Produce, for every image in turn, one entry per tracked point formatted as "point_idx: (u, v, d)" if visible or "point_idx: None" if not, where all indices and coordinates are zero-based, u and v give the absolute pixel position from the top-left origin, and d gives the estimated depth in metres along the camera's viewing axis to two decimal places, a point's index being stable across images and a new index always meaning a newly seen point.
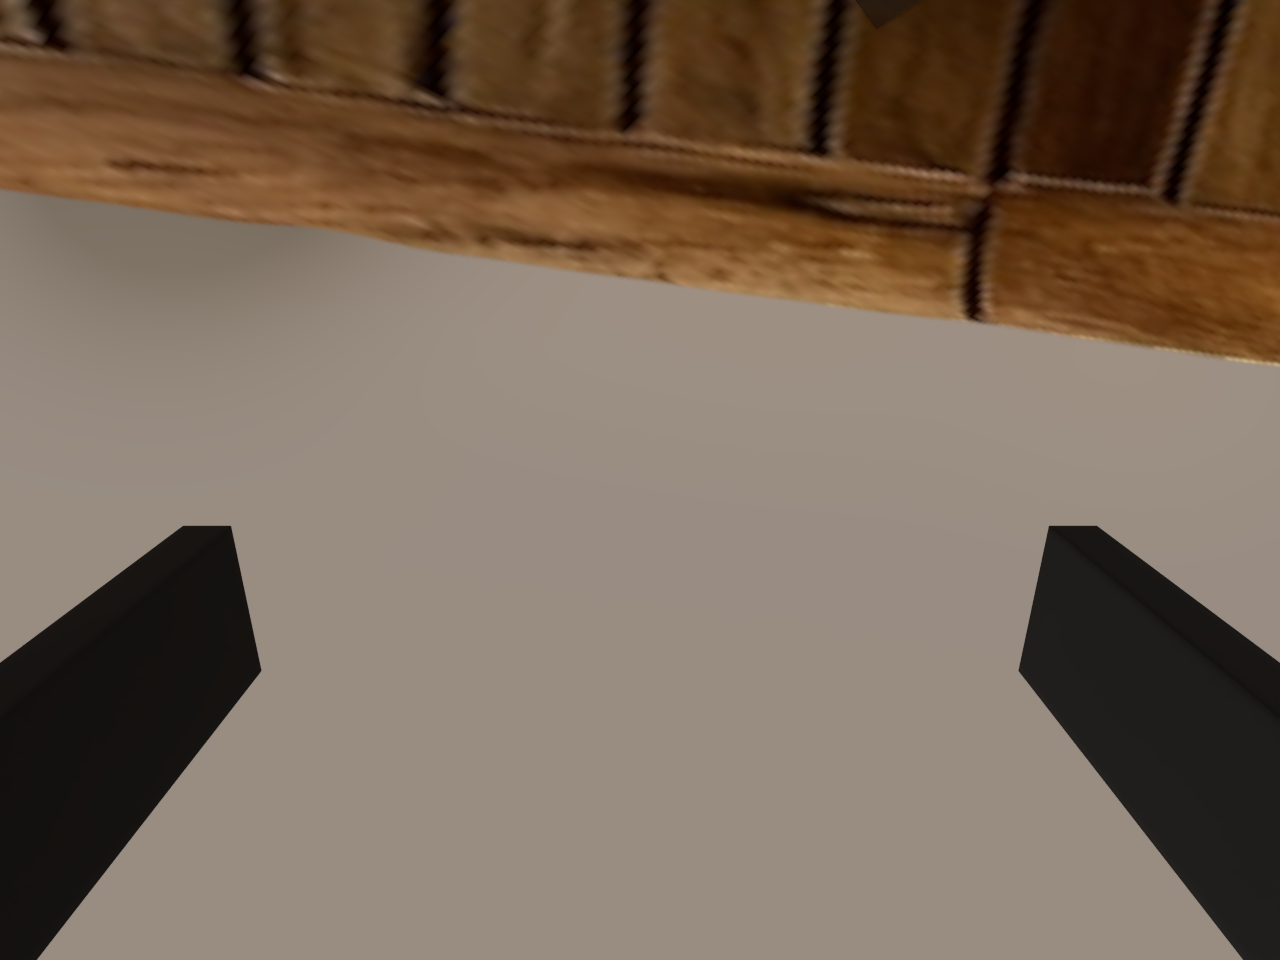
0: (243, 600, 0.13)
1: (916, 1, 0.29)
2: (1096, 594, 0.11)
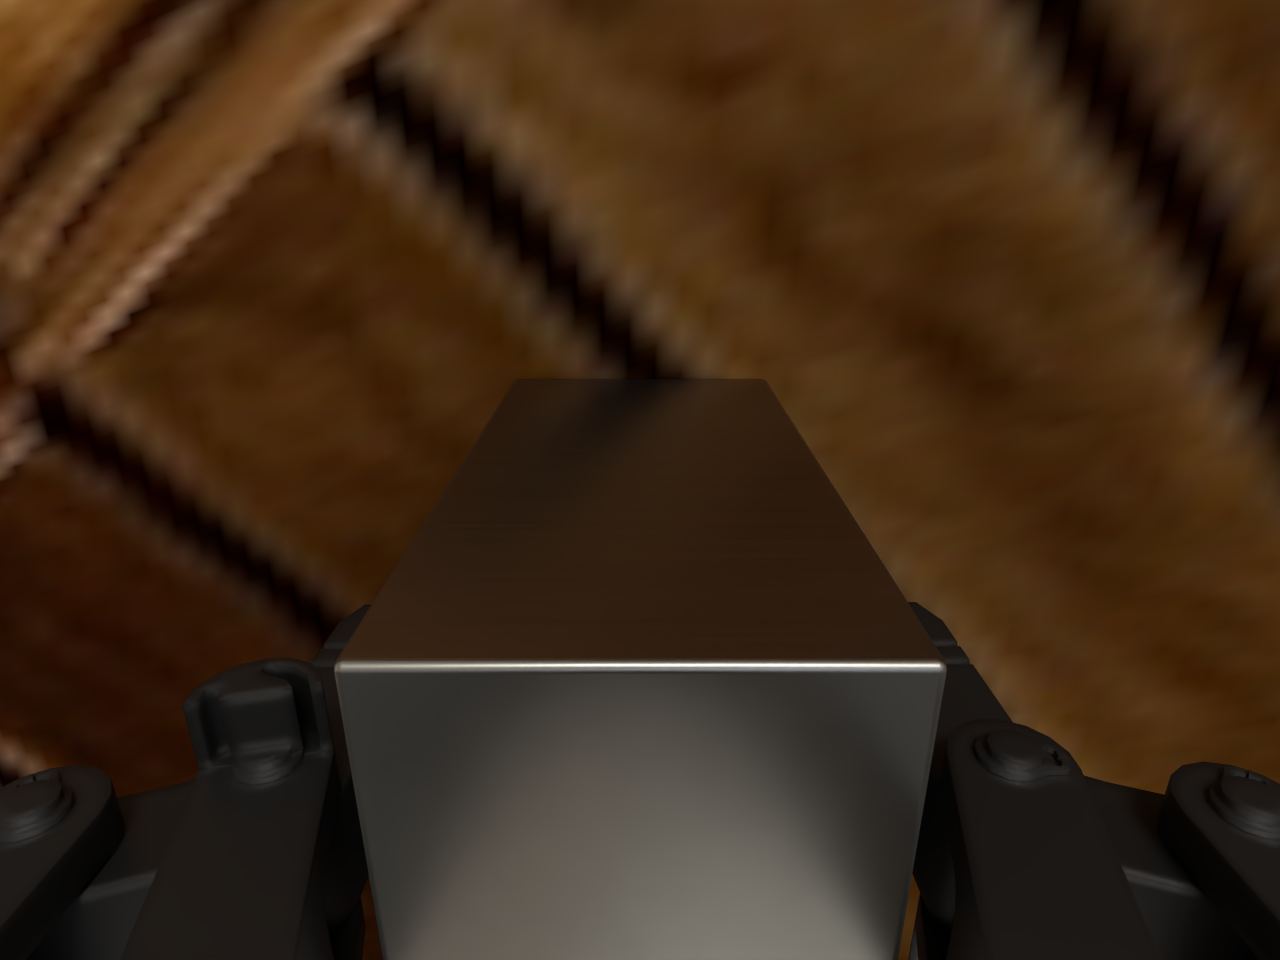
0: None
1: (450, 486, 0.09)
2: None
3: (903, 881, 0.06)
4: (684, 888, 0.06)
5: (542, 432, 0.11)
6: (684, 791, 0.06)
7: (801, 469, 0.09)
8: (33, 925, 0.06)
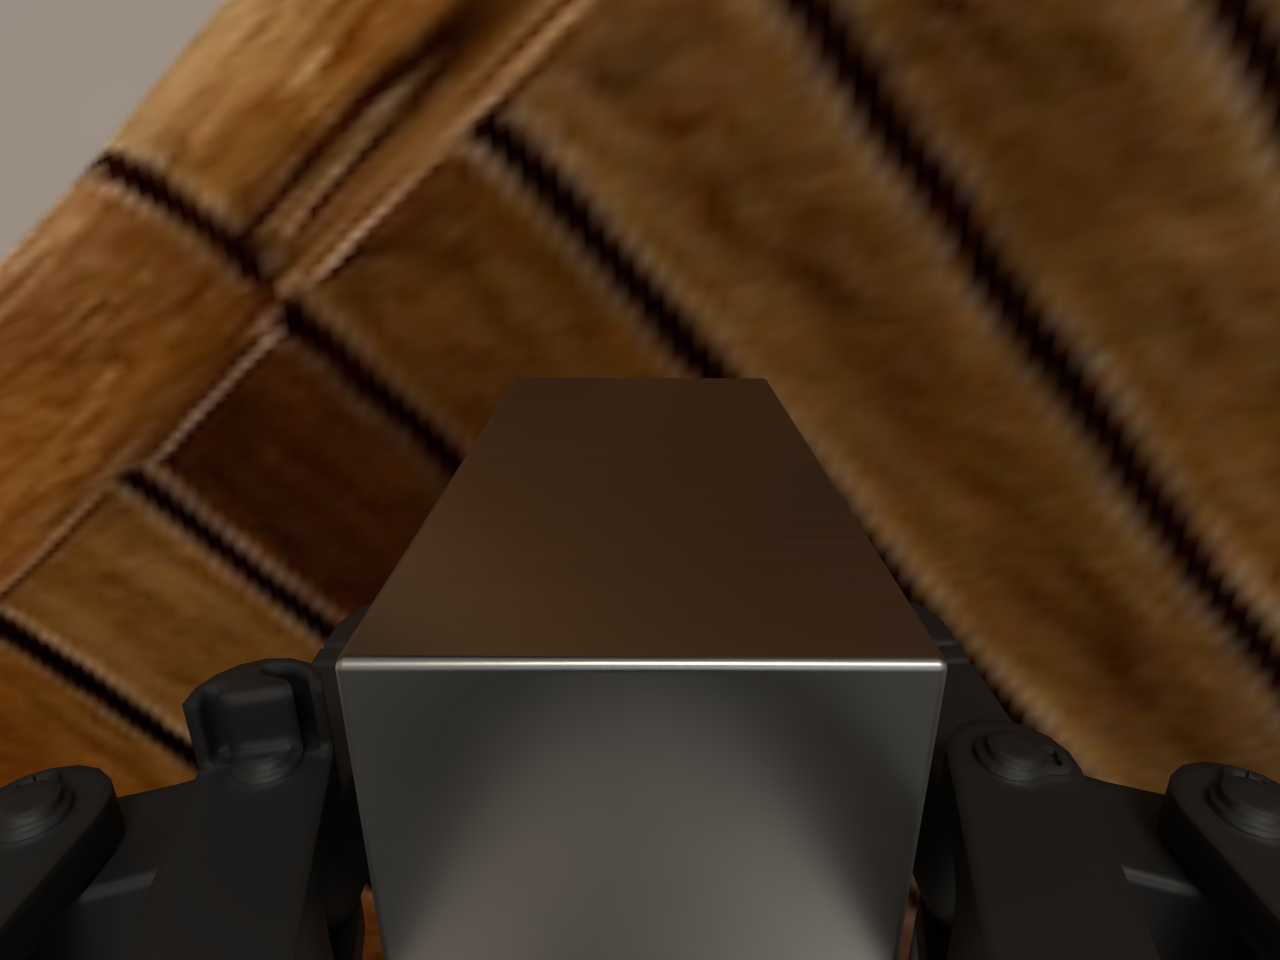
0: None
1: (450, 484, 0.09)
2: None
3: (903, 879, 0.06)
4: (685, 886, 0.06)
5: (543, 431, 0.11)
6: (684, 789, 0.06)
7: (802, 468, 0.09)
8: (33, 925, 0.06)
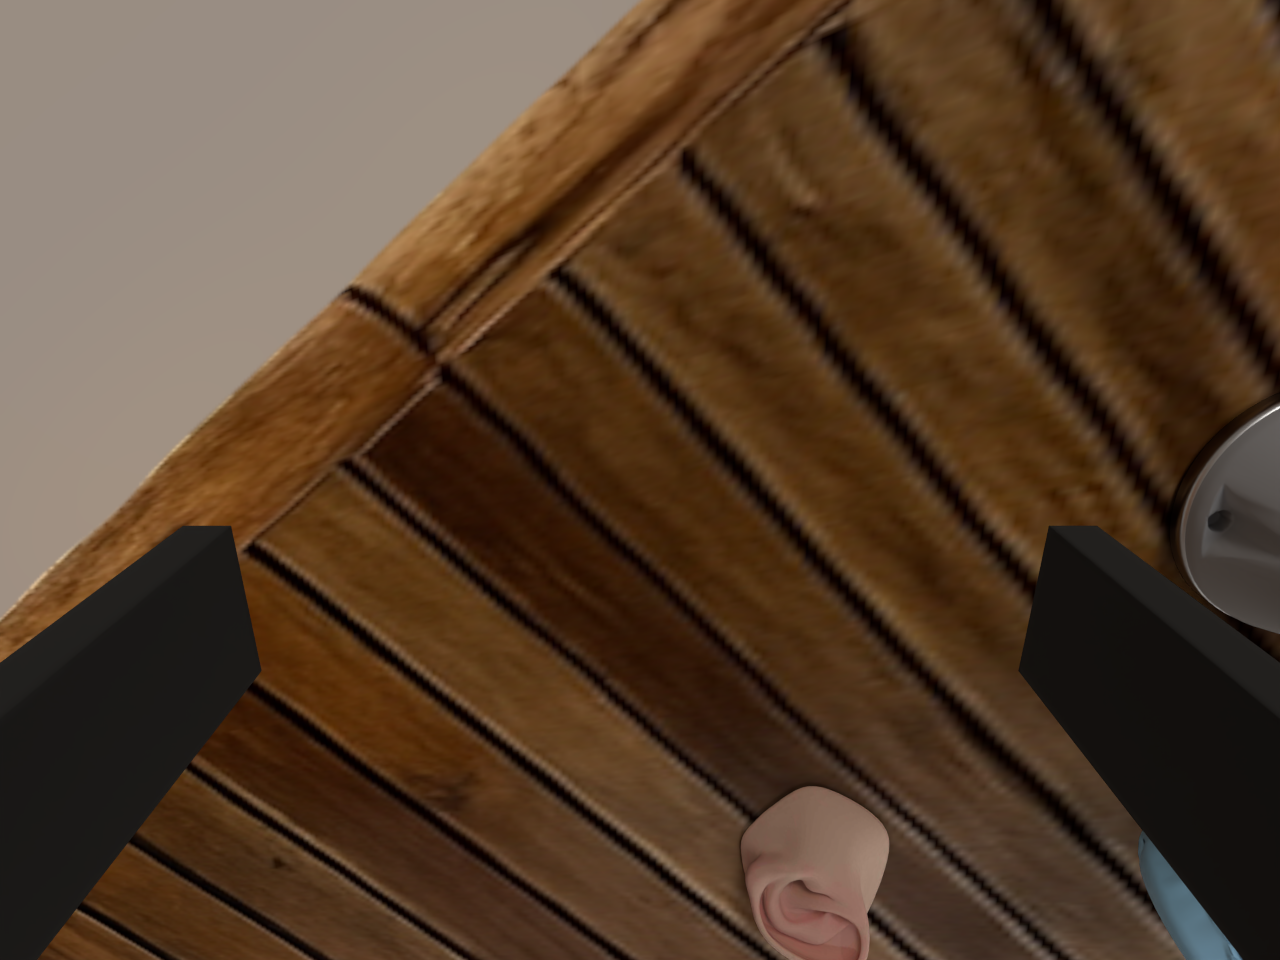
0: (243, 600, 0.13)
1: None
2: (1096, 593, 0.11)
3: None
4: None
5: None
6: None
7: None
8: None
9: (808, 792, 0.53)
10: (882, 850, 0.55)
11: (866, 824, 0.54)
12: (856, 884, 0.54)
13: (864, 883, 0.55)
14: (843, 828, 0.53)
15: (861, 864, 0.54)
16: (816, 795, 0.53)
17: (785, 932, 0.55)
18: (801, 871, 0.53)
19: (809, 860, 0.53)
